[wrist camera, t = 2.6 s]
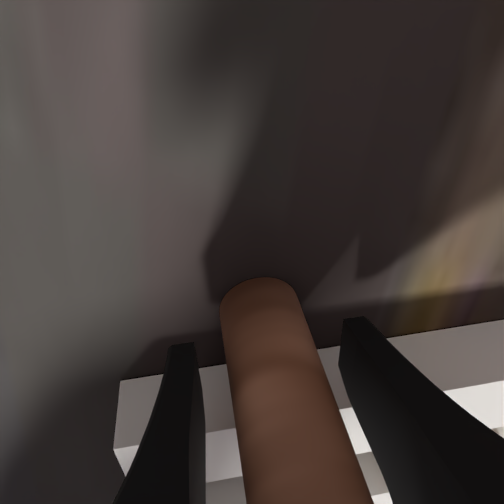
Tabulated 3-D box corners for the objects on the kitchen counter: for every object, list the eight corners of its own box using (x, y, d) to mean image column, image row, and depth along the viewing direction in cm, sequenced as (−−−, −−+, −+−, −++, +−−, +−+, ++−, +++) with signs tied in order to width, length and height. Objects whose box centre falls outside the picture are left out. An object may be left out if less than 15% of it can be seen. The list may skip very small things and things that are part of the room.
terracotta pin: (222, 340, 14) (258, 592, 9) (215, 283, 13) (253, 544, 7) (296, 329, 15) (377, 566, 9) (298, 271, 13) (396, 514, 8)
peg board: (166, 506, 21) (167, 566, 19) (120, 381, 15) (113, 449, 13) (470, 448, 22) (499, 497, 20) (538, 314, 16) (590, 365, 14)
